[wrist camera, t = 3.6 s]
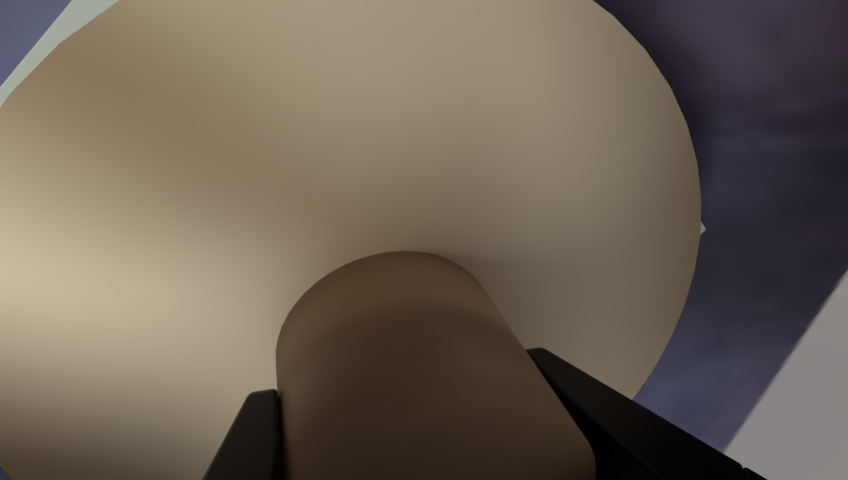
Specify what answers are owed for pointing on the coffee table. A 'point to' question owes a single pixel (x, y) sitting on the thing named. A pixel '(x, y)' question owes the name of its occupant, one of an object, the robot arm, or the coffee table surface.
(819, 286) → the coffee table surface
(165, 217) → the oak lid
